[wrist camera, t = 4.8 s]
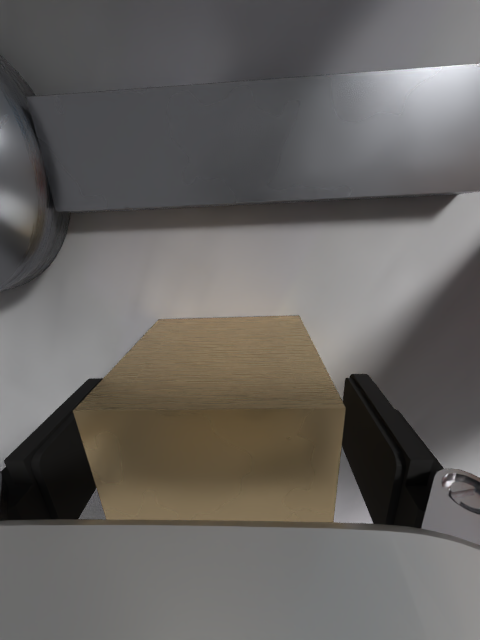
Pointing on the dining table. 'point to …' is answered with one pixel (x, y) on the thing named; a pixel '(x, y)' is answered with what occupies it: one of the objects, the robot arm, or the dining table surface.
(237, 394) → the brown parcel carton
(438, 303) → the dining table surface
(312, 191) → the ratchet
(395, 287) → the dining table surface
